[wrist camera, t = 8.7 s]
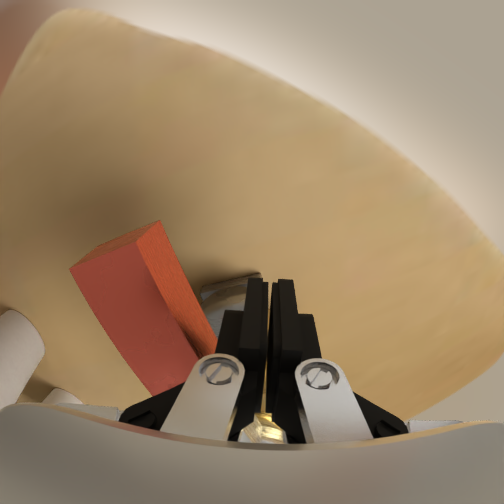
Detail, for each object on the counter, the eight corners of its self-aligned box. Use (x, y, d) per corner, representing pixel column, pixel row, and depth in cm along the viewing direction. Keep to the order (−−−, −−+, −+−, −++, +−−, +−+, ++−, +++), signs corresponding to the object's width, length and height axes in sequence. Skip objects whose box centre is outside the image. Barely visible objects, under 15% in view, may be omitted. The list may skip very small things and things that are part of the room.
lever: (181, 212, 9) (160, 232, 7) (298, 452, 14) (299, 479, 13) (84, 251, 10) (55, 275, 8) (230, 460, 15) (227, 485, 13)
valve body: (309, 395, 23) (317, 474, 16) (244, 405, 24) (237, 482, 17) (275, 269, 19) (278, 358, 11) (189, 289, 20) (150, 374, 12)
